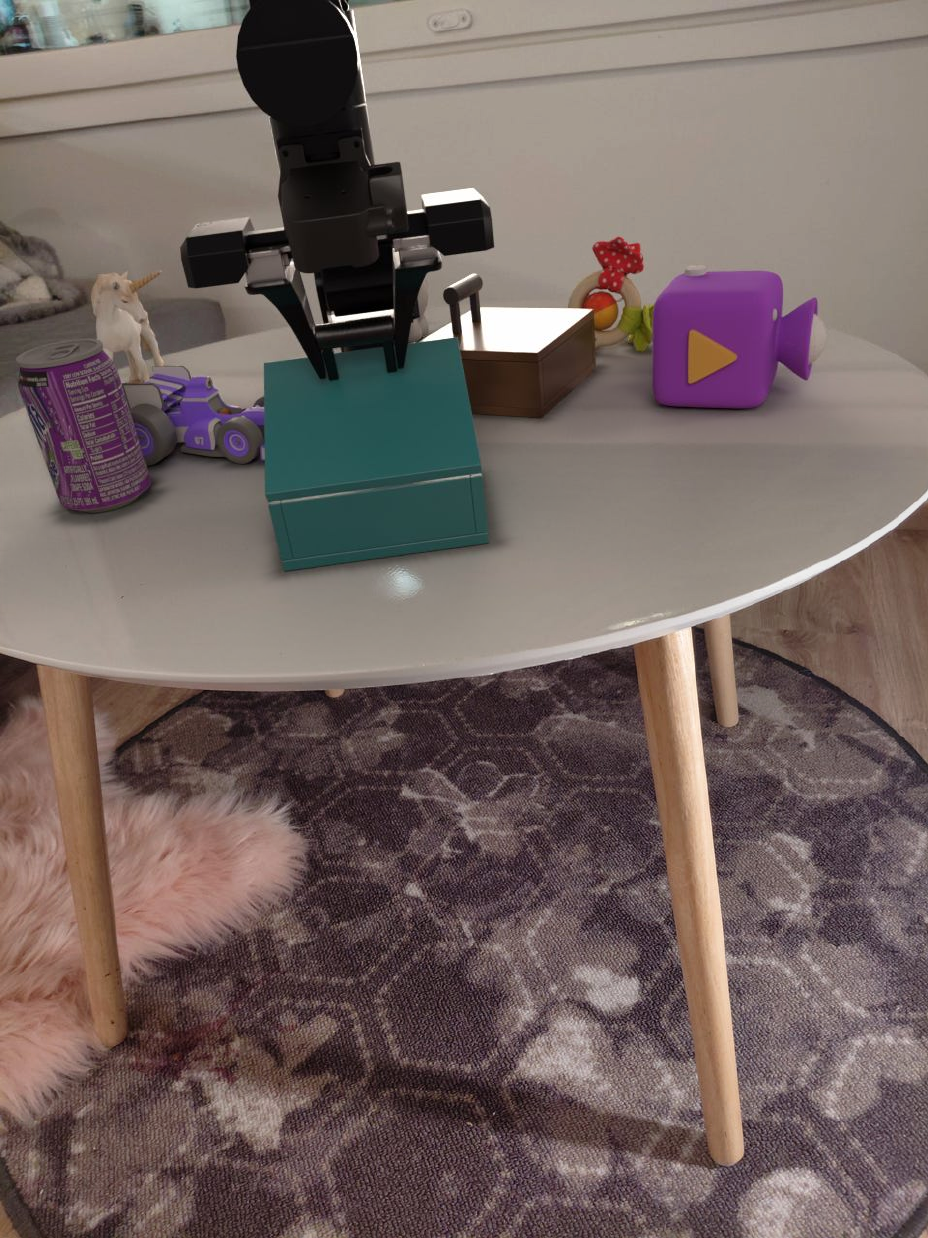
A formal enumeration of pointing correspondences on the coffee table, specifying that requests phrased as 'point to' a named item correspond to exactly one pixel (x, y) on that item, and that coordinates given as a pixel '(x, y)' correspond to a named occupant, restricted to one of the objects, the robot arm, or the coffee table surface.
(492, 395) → the box
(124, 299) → the unicorn figurine
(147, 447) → the toy race car
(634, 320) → the bird rattle
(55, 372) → the beverage can
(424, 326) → the toy rhinoceros
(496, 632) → the coffee table surface
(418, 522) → the teal box
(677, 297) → the toy camera
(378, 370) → the lid
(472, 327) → the lid
